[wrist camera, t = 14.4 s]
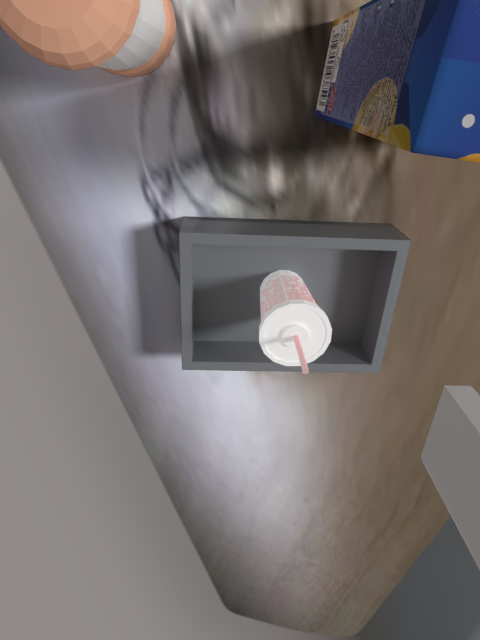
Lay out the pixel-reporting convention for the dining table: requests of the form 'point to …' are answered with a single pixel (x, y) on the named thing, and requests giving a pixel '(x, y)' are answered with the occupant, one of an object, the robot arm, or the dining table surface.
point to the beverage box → (407, 75)
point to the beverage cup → (291, 321)
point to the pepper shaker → (93, 32)
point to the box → (310, 265)
